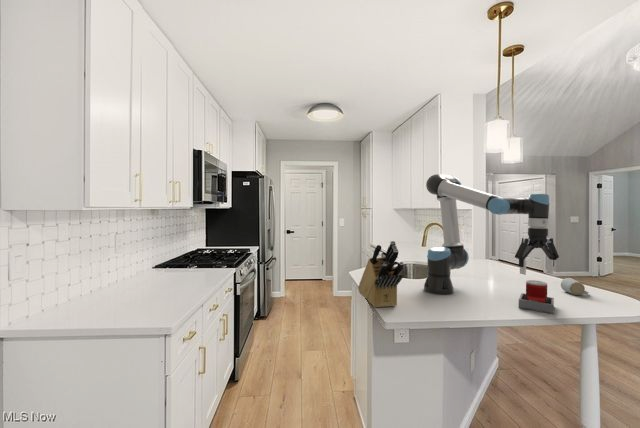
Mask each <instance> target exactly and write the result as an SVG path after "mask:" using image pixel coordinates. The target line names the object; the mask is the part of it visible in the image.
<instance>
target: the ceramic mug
mask: <svg viewBox="0 0 640 428" xmlns="http://www.w3.org/2000/svg"><path fill="white" fill-rule="evenodd" d="M560 287H561V289H562V291H564V292H566V293H569V294H571V295H573V296H581V295H588V294H589V292H588V291H587V290H586V289H585V288H586V287H585V285H584V284H583V283H581V282H580V281H578V280H576V279H573V278H571V277H565V278H564V279H562V280H561V282H560Z"/></svg>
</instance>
